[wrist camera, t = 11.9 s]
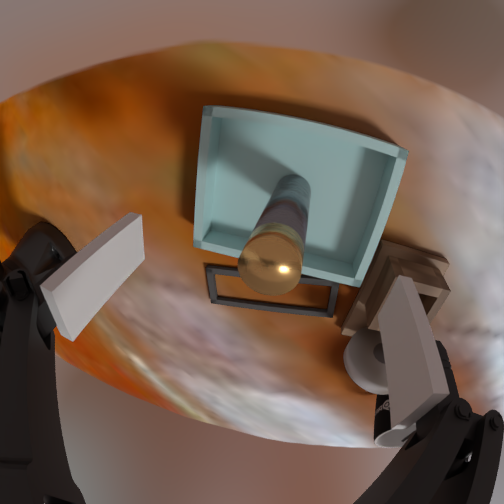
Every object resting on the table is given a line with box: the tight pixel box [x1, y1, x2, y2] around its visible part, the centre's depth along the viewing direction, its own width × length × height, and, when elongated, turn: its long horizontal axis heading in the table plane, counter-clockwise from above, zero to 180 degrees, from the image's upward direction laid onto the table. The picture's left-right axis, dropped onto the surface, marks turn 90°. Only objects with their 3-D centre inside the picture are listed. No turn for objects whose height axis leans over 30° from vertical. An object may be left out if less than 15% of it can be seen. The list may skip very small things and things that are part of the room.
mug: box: [374, 394, 416, 448], centre depth 29 cm, size 12×9×10 cm
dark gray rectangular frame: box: [206, 265, 339, 318], centre depth 29 cm, size 14×5×1 cm, turn 92°
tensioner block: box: [341, 239, 451, 395], centre depth 23 cm, size 8×12×9 cm, turn 172°
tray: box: [193, 105, 409, 288], centre depth 22 cm, size 16×13×3 cm
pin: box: [238, 174, 311, 295], centre depth 18 cm, size 3×3×12 cm
